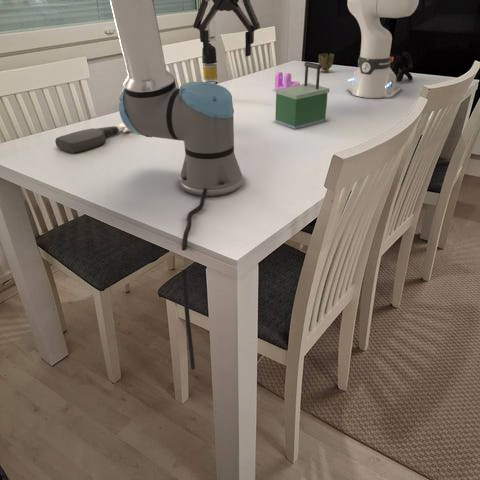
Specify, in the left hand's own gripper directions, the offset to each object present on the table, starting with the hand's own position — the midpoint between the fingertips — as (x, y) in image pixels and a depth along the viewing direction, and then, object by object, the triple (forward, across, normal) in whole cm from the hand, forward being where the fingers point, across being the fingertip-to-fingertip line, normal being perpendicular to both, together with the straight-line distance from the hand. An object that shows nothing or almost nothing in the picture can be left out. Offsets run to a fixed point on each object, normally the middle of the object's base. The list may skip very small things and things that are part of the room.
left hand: (227, 54), depth 136 cm
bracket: (+22, -6, -58) cm, 62 cm away
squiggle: (+22, -50, -85) cm, 101 cm away
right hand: (-16, -25, -23) cm, 37 cm away
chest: (+22, -21, -13) cm, 33 cm away
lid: (+13, -21, -13) cm, 28 cm away
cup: (+22, -15, -94) cm, 97 cm away
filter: (+22, +20, -32) cm, 44 cm away
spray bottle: (+23, +35, +23) cm, 47 cm away
